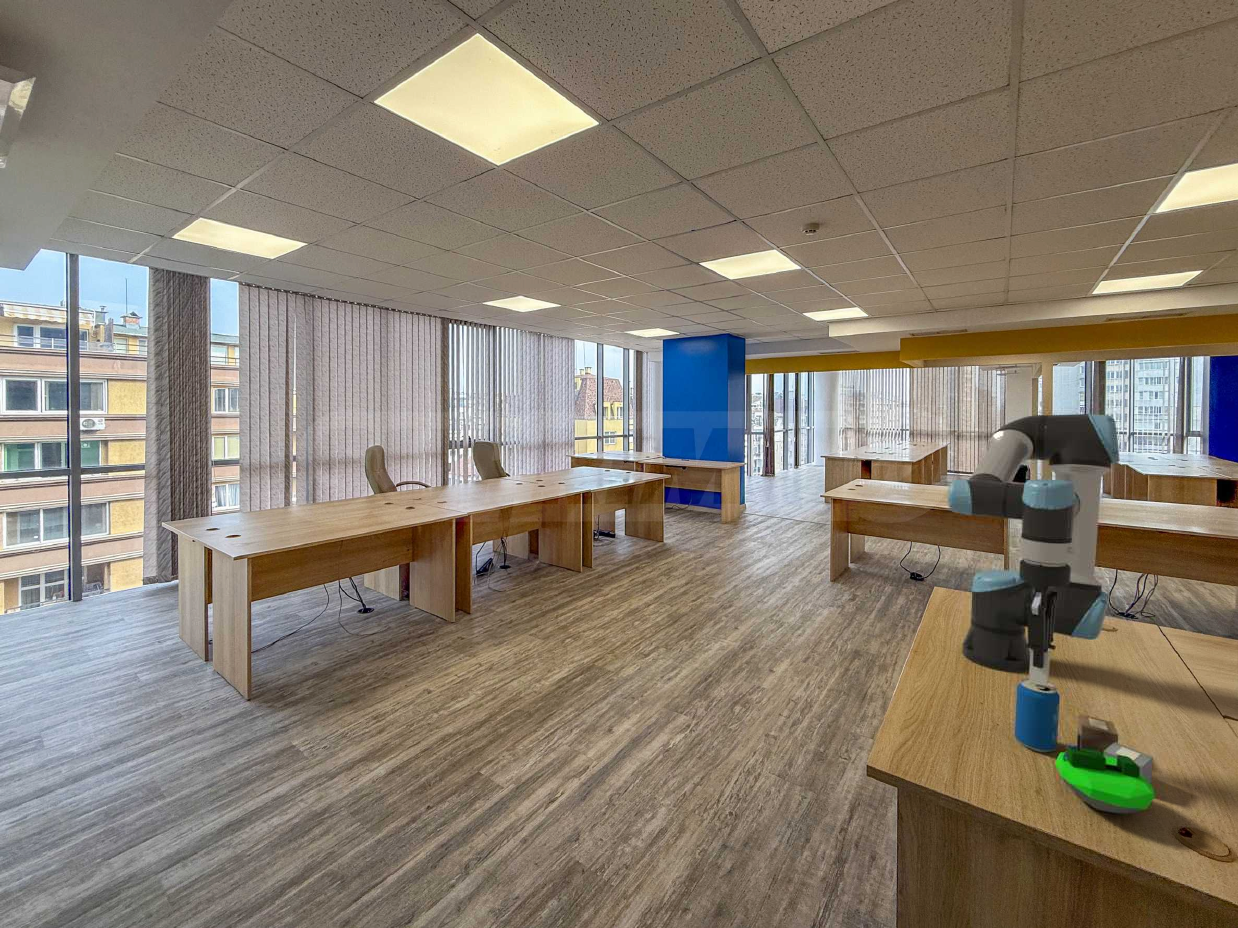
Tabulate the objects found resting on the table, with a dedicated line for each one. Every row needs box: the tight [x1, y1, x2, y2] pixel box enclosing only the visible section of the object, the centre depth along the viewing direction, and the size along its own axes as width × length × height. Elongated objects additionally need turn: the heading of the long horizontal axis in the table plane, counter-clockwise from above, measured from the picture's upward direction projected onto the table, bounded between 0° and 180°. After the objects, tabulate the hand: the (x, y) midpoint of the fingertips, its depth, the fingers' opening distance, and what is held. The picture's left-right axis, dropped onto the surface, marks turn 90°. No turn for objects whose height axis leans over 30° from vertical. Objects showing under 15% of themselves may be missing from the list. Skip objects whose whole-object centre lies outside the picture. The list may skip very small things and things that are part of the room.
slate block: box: [1103, 742, 1154, 785], centre depth 92 cm, size 5×5×5 cm
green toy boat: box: [1055, 733, 1155, 815], centre depth 87 cm, size 12×12×11 cm
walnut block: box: [1077, 714, 1119, 754], centre depth 101 cm, size 5×5×5 cm
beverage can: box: [1014, 677, 1061, 753], centre depth 103 cm, size 6×6×12 cm
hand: (1038, 681), depth 102 cm, fingers closed
